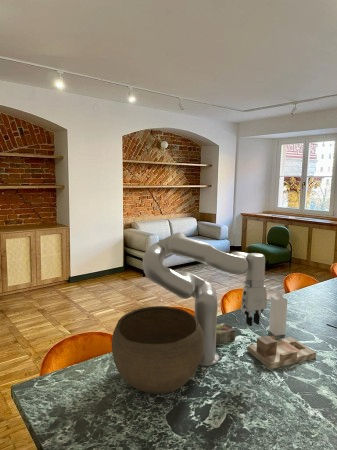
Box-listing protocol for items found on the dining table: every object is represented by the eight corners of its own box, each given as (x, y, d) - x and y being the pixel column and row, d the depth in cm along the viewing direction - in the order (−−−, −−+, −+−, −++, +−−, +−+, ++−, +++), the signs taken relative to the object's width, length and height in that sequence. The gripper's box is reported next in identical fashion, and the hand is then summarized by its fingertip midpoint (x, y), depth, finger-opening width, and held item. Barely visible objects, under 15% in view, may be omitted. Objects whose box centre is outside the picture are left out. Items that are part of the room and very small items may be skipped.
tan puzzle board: (270, 369, 140) (270, 357, 139) (247, 350, 155) (248, 340, 154) (316, 357, 149) (316, 347, 149) (290, 341, 164) (291, 331, 163)
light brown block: (264, 357, 145) (265, 344, 144) (256, 350, 150) (257, 337, 149) (276, 354, 147) (276, 341, 146) (267, 348, 152) (268, 335, 152)
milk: (274, 336, 170) (276, 294, 166) (268, 330, 176) (270, 290, 172) (285, 334, 171) (288, 293, 168) (279, 329, 177) (281, 289, 174)
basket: (215, 370, 139) (219, 315, 133) (173, 429, 109) (175, 362, 104) (145, 343, 156) (146, 294, 151) (92, 388, 127) (91, 329, 121)
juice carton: (225, 331, 174) (225, 320, 173) (237, 339, 166) (238, 328, 165) (192, 340, 165) (192, 328, 164) (203, 349, 157) (203, 337, 156)
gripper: (243, 287, 134) (241, 330, 137) (276, 283, 140) (273, 324, 143) (233, 282, 141) (231, 323, 144) (265, 278, 147) (262, 318, 150)
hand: (252, 323), depth 143 cm, fingers open, 3 cm apart
